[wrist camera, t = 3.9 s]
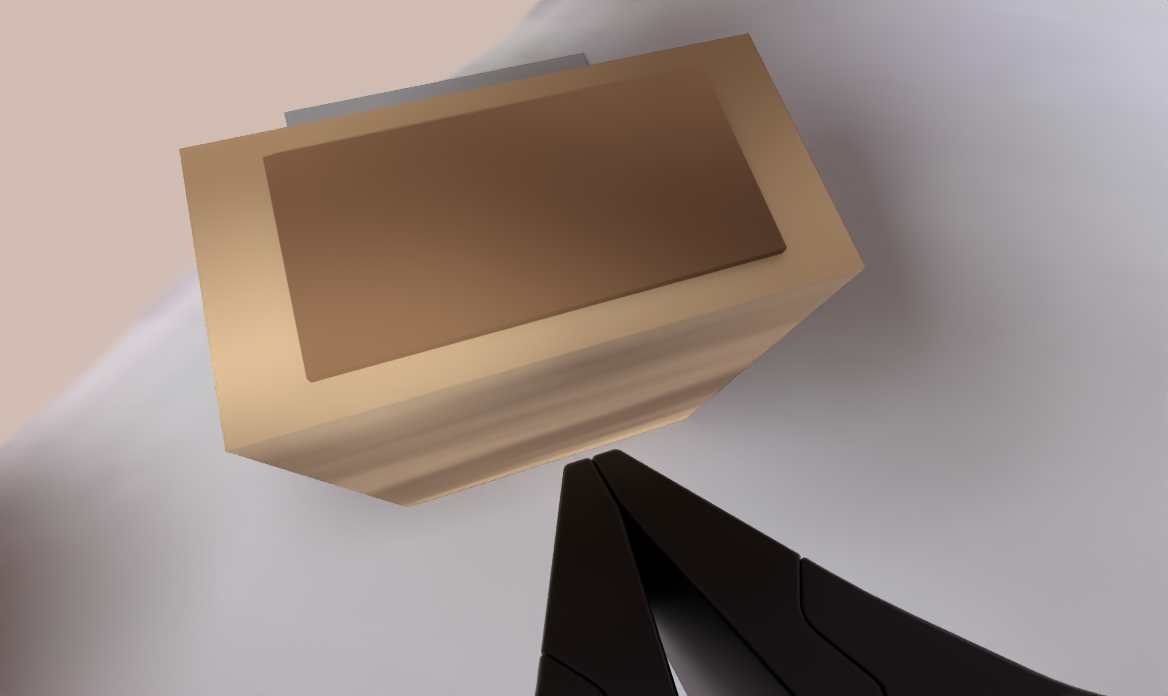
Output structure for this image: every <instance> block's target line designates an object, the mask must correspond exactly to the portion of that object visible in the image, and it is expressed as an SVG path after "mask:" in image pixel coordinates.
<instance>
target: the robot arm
mask: <svg viewBox="0 0 1168 696" xmlns="http://www.w3.org/2000/svg"><path fill="white" fill-rule="evenodd" d="M541 654H542V656H541V657H540V661H539V669H538V677H537V685H536V691H535V696H679V695H678V692H677V689H676V686H675V682H674V679H673V676H672V673H671V670H670V666H669V663H668V660H669V662H670V664H671V666H672V668H673V669H674V671H675V673H676V675H677V677H678V679H679V681H680V683H681V684H682V686H683V688H684V690H685V692H686V694H687V696H1105V695H1101V694H1097V693H1094V692H1090V691H1087V690H1083V689H1080V688H1077V687H1074V686H1071V685H1068V684H1065V683H1063V682H1060V681H1057V680H1054V679H1052V678H1050V677H1047V676H1045V675H1043V674H1040V673H1038V672H1036V671H1033V670H1031V669H1029V668H1027V667H1025V666H1022V665H1020V664H1018V663H1016V662H1014V661H1012V660H1009V659H1007V658H1005V657H1003V656H1001V655H999V654H997V653H994V652H992V651H990V650H988V649H986V648H984V647H981V646H979V645H977V644H975V643H973V642H971V641H969V640H966V639H964V638H962V637H960V636H958V635H956V634H953V633H951V632H949V631H947V630H945V629H943V628H940V627H938V626H936V625H934V624H932V623H930V622H928V621H925V620H923V619H921V618H919V617H917V616H915V615H913V614H911V613H909V612H907V611H904V610H902V609H900V608H898V607H896V606H894V605H892V604H890V603H888V602H886V601H884V600H882V599H880V598H878V597H876V596H874V595H872V594H870V593H868V592H866V591H864V590H862V589H861V588H859V587H857V586H855V585H853V584H851V583H850V582H848V581H846V580H844V579H842V578H840V577H839V576H837V575H835V574H833V573H831V572H830V571H828V570H826V569H824V568H823V567H821V566H819V565H817V564H816V563H814V562H812V561H811V560H809V559H807V558H802V559H801V556H800V555H799V554H798V553H796V552H795V551H793V550H791V549H789V548H788V547H786V546H784V545H783V544H781V543H779V542H777V541H776V540H774V539H772V538H771V537H769V536H767V535H765V534H764V533H762V532H760V531H758V530H757V529H755V528H753V527H752V526H750V525H748V524H746V523H745V522H743V521H741V520H740V519H738V518H736V517H734V516H733V515H731V514H729V513H727V512H726V511H724V510H722V509H721V508H719V507H717V506H715V505H714V504H712V503H710V502H709V501H707V500H705V499H703V498H702V497H700V496H698V495H696V494H695V493H693V492H691V491H690V490H688V489H686V488H684V487H683V486H681V485H679V484H678V483H676V482H674V481H672V480H671V479H669V478H667V477H665V476H664V475H662V474H660V473H659V472H657V471H655V470H653V469H652V468H650V467H648V466H647V465H645V464H643V463H641V462H640V461H638V460H636V459H634V458H633V457H631V456H629V455H628V454H626V453H624V452H622V451H621V450H617V449H614V450H611V451H607V452H604V453H601V454H598V455H595V456H594V457H593V459H592V460H591V459H588V458H586V459H582V460H579V461H576V462H573V463H570V464H567V465H566V466H565V467H564V471H563V479H562V487H561V495H560V503H559V511H558V519H557V527H556V535H555V543H554V551H553V559H552V567H551V575H550V583H549V591H548V599H547V608H546V616H545V624H544V632H543V640H542V648H541ZM666 656H667V657H666ZM667 658H668V660H667Z"/></svg>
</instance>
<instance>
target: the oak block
mask: <svg viewBox="0 0 1168 696" xmlns="http://www.w3.org/2000/svg"><path fill="white" fill-rule="evenodd" d="M180 156H181V163H182V170H183V176H184V182H185V189H186V196H187V202H188V209H189V215H190V222H191V228H192V235H193V241H194V248H195V254H196V261H197V268H198V274H199V281H200V287H201V294H202V300H203V307H204V313H205V320H206V326H207V333H208V340H209V346H210V353H211V359H212V366H213V372H214V379H215V385H216V392H217V398H218V405H219V411H220V418H221V425H222V431H223V438H224V444H225V451H226V452H229V453H233V454H236V455H239V456H242V457H246V458H249V459H252V460H256V461H259V462H262V463H265V464H269V465H272V466H275V467H278V468H282V469H285V470H288V471H291V472H295V473H298V474H301V475H304V476H308V477H311V478H314V479H317V480H321V481H324V482H327V483H330V484H334V485H337V486H340V487H343V488H347V489H350V490H353V491H356V492H360V493H363V494H366V495H369V496H373V497H376V498H379V499H382V500H386V501H389V502H392V503H395V504H399V505H402V506H405V507H411V506H414V505H417V504H420V503H423V502H426V501H430V500H433V499H436V498H439V497H442V496H445V495H449V494H452V493H455V492H458V491H461V490H464V489H467V488H471V487H474V486H477V485H480V484H483V483H486V482H489V481H493V480H496V479H499V478H502V477H505V476H508V475H512V474H515V473H518V472H521V471H524V470H527V469H530V468H534V467H537V466H540V465H543V464H546V463H549V462H553V461H556V460H559V459H562V458H565V457H568V456H571V455H575V454H578V453H581V452H584V451H587V450H590V449H594V448H597V447H600V446H603V445H606V444H609V443H612V442H616V441H619V440H622V439H625V438H628V437H631V436H635V435H638V434H641V433H644V432H647V431H650V430H653V429H657V428H660V427H663V426H666V425H669V424H672V423H676V422H679V421H682V420H685V419H686V418H687V417H688V416H690V415H691V414H692V413H693V412H694V411H696V410H697V409H698V408H699V407H700V406H701V405H703V404H704V403H705V402H706V401H707V400H709V399H710V398H711V397H712V396H713V395H715V394H716V393H717V392H718V391H719V390H721V389H722V388H723V387H724V386H725V385H727V384H728V383H729V382H730V381H731V380H733V379H734V378H735V377H736V376H737V375H738V374H740V373H741V372H742V371H743V370H744V369H746V368H747V367H748V366H749V365H750V364H752V363H753V362H754V361H755V360H756V359H758V358H759V357H760V356H761V355H762V354H764V353H765V352H766V351H767V350H768V349H770V348H771V347H772V346H773V345H774V344H775V343H777V342H778V341H779V340H780V339H781V338H783V337H784V336H785V335H786V334H787V333H789V332H790V331H791V330H792V329H793V328H795V327H796V326H797V325H798V324H799V323H801V322H802V321H803V320H804V319H805V318H807V317H808V316H809V315H810V314H811V313H812V312H814V311H815V310H816V309H817V308H818V307H820V306H821V305H822V304H823V303H824V302H826V301H827V300H828V299H829V298H830V297H832V296H833V295H834V294H835V293H836V292H838V291H839V290H840V289H841V288H842V287H844V286H845V285H846V284H847V283H848V282H849V281H851V280H852V279H853V278H854V277H855V276H857V275H858V274H859V273H860V272H861V271H863V270H864V269H865V268H866V267H865V265H864V263H863V261H862V259H861V257H860V255H859V253H858V251H857V249H856V247H855V245H854V243H853V241H852V239H851V237H850V235H849V233H848V231H847V229H846V227H845V225H844V223H843V221H842V219H841V217H840V215H839V213H838V211H837V209H836V207H835V205H834V203H833V201H832V199H831V197H830V195H829V193H828V191H827V189H826V187H825V185H824V183H823V181H822V179H821V177H820V175H819V173H818V171H817V169H816V167H815V165H814V163H813V161H812V159H811V157H810V155H809V153H808V151H807V149H806V147H805V145H804V143H803V141H802V139H801V137H800V135H799V133H798V131H797V129H796V127H795V125H794V123H793V121H792V119H791V117H790V115H789V113H788V111H787V109H786V107H785V105H784V103H783V101H782V99H781V97H780V95H779V93H778V91H777V89H776V87H775V85H774V83H773V81H772V79H771V77H770V75H769V73H768V71H767V69H766V67H765V65H764V63H763V61H762V59H761V57H760V55H759V53H758V51H757V49H756V47H755V45H754V43H753V41H752V39H751V37H750V35H749V33H747V34H743V35H738V36H733V37H728V38H723V39H718V40H713V41H708V42H703V43H698V44H693V45H688V46H684V47H679V48H674V49H669V50H664V51H659V52H654V53H649V54H644V55H639V56H634V57H629V58H625V59H620V60H615V61H610V62H605V63H600V64H595V65H590V66H585V67H580V68H575V69H570V70H566V71H561V72H556V73H551V74H546V75H541V76H536V77H531V78H526V79H521V80H516V81H511V82H507V83H502V84H497V85H492V86H487V87H482V88H477V89H472V90H467V91H462V92H457V93H452V94H447V95H443V96H438V97H433V98H428V99H423V100H418V101H413V102H408V103H403V104H398V105H393V106H388V107H384V108H379V109H374V110H369V111H364V112H359V113H354V114H349V115H344V116H339V117H334V118H329V119H325V120H320V121H315V122H310V123H305V124H300V125H295V126H290V127H285V128H280V129H276V130H270V131H266V132H261V133H256V134H251V135H246V136H241V137H236V138H232V139H227V140H221V141H217V142H212V143H207V144H202V145H197V146H192V147H187V148H182V149H180Z"/></svg>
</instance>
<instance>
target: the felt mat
mask: <svg viewBox="0 0 1168 696" xmlns="http://www.w3.org/2000/svg"><path fill="white" fill-rule="evenodd" d="M585 66H588V63H587V61H586V58H585V56H584V53H581V54H576V55H571V56H566V57H561V58H556V59H551V60H546V61H541V62H536V63H531V64H526V65H521V66H516V67H511V68H506V69H501V70H496V71H491V72H486V73H481V74H476V75H470V76H465V77H460V78H455V79H450V80H445V81H440V82H435V83H431V84H425V85H420V86H415V87H410V88H405V89H400V90H395V91H390V92H385V93H380V94H375V95H370V96H365V97H361V98H355V99H350V100H345V101H340V102H335V103H330V104H325V105H320V106H315V107H310V108H305V109H300V110H295V111H290V112H286V113H285V118H286V122H287V127H290V126H295V125H300V124H305V123H310V122H315V121H320V120H325V119H329V118H334V117H339V116H344V115H349V114H354V113H359V112H364V111H369V110H374V109H379V108H384V107H388V106H393V105H398V104H403V103H408V102H413V101H418V100H423V99H428V98H433V97H438V96H443V95H447V94H452V93H457V92H462V91H467V90H472V89H477V88H482V87H487V86H492V85H497V84H502V83H507V82H511V81H516V80H521V79H526V78H531V77H536V76H541V75H546V74H551V73H556V72H561V71H566V70H570V69H575V68H580V67H585Z"/></svg>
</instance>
